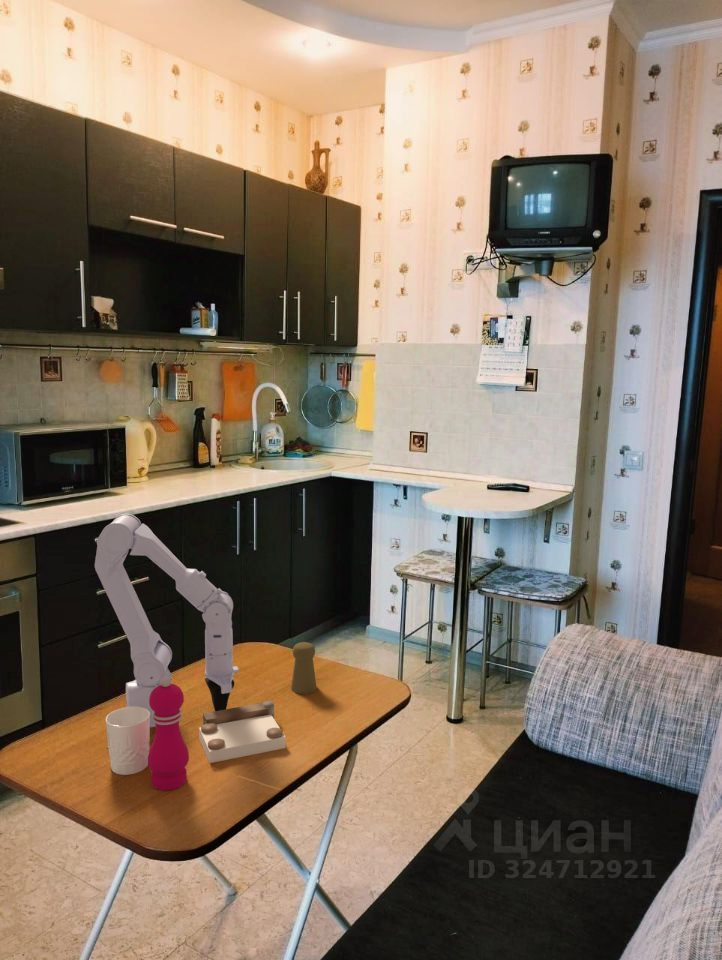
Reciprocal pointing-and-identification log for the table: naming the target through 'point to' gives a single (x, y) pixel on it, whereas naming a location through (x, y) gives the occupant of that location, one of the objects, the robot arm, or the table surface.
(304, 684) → the cork
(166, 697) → the pepper mill
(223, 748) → the stool seat
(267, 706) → the folding leg
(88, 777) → the table surface
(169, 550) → the robot arm
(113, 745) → the white cup
